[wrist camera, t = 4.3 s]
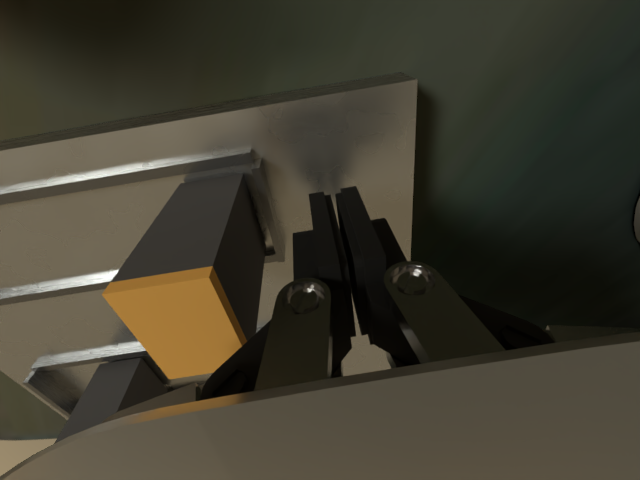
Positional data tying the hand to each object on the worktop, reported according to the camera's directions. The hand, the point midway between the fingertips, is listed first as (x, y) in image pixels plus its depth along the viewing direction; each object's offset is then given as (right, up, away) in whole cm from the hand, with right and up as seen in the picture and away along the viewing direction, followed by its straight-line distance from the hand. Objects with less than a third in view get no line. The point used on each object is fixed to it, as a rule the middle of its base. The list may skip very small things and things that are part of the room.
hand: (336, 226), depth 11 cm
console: (-8, -3, +7) cm, 11 cm away
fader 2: (-5, +1, +2) cm, 5 cm away
